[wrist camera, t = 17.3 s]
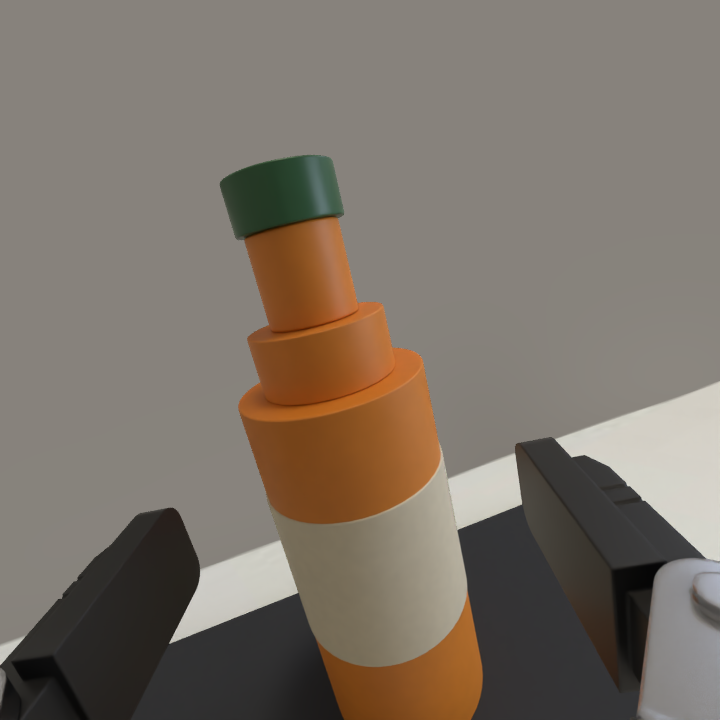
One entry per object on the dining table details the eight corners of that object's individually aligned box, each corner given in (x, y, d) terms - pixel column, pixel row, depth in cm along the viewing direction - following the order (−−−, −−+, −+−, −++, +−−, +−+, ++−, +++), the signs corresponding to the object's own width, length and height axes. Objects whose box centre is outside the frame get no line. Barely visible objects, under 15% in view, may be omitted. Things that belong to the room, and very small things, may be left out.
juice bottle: (464, 593, 18) (379, 165, 13) (506, 748, 12) (388, 110, 8) (339, 613, 18) (214, 208, 14) (327, 771, 13) (109, 184, 8)
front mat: (554, 497, 23) (553, 491, 23) (765, 658, 13) (766, 649, 13) (60, 694, 18) (56, 687, 18) (-153, 1158, 9) (-164, 1151, 9)
